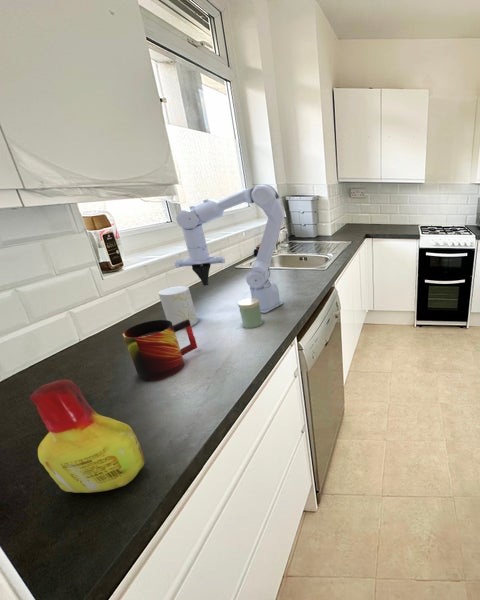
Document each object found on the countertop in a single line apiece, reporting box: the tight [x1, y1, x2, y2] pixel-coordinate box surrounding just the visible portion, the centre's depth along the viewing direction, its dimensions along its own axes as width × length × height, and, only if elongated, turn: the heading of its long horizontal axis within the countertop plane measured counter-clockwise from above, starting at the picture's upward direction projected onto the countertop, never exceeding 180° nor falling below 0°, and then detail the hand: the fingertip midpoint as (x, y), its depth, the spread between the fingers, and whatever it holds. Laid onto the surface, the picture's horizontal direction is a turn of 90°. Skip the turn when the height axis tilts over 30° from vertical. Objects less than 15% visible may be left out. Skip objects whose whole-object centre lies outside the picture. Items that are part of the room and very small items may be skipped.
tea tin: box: [237, 297, 264, 329], centre depth 103 cm, size 6×6×8 cm
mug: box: [122, 319, 198, 382], centre depth 80 cm, size 10×14×12 cm
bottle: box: [29, 379, 145, 494], centre depth 47 cm, size 12×6×20 cm, turn 100°
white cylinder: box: [158, 285, 199, 327], centre depth 103 cm, size 8×8×12 cm
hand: (206, 284), depth 110 cm, fingers closed
